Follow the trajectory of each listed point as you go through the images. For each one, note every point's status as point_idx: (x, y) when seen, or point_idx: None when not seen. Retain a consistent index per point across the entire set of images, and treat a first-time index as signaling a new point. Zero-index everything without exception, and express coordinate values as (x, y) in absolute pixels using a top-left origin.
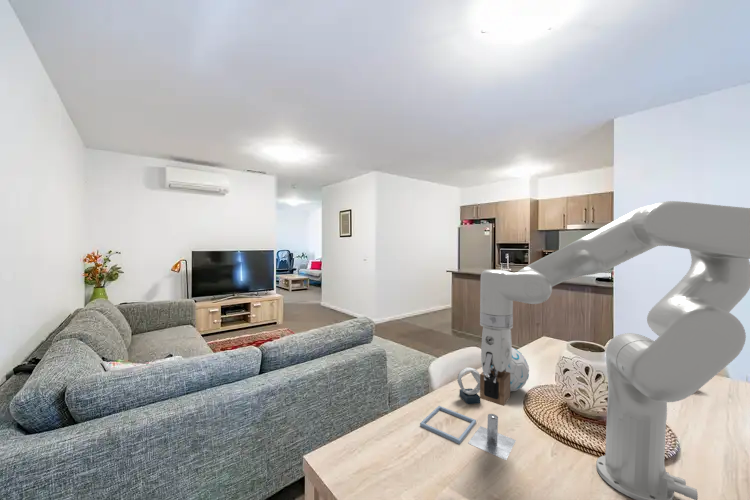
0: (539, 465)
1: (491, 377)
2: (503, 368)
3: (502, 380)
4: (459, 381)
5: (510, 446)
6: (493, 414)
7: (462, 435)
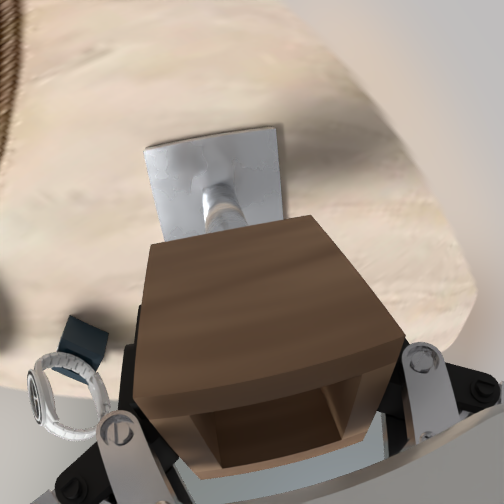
0: (189, 55)
1: (491, 378)
2: (499, 437)
3: (399, 345)
4: (107, 410)
5: (193, 147)
6: None
7: None
